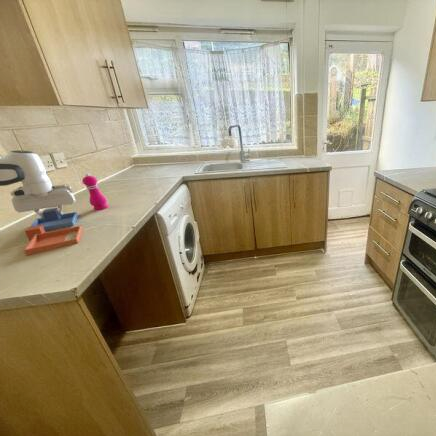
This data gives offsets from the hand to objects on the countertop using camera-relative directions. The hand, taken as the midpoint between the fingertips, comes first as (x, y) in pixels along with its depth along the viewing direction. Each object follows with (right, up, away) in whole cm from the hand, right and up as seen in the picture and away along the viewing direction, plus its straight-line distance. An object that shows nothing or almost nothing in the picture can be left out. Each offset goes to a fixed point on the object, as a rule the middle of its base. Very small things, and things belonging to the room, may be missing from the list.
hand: (52, 216), depth 114 cm
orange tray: (+16, -11, -14) cm, 24 cm away
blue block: (0, -1, +1) cm, 1 cm away
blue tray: (0, -4, +2) cm, 5 cm away
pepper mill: (+7, +4, +20) cm, 22 cm away
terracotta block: (+3, -9, -9) cm, 13 cm away
